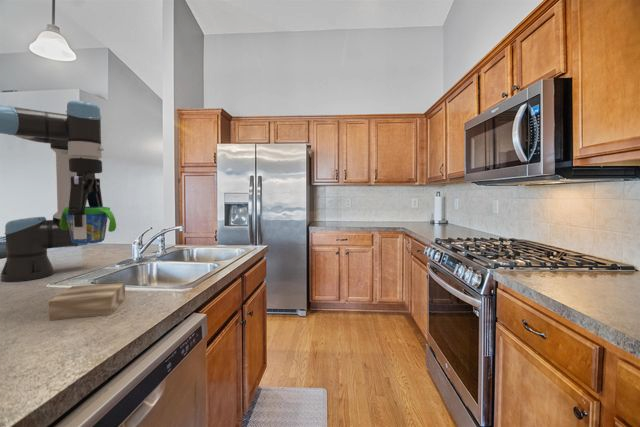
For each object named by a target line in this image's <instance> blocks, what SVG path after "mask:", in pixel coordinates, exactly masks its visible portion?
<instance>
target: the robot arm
mask: <svg viewBox="0 0 640 427" xmlns="http://www.w3.org/2000/svg"><path fill="white" fill-rule="evenodd" d="M65 113H66V114H65ZM65 113H59V112H57V113H56V112H51V111H45V110H44V111H42V110H36V109H29V108H23V107H18V106H17V107H16V106H12V105H0V134H1V135H2V134H3V135H8V136H15V137H17V138H19V139H22V140H27V141H31V142H36V143H43V144H50V145H49V146H50V150H52V151H53V152H54V153H55V165H56V166H55V167H56V169H55V172H56V173H55V174H56V198H57V199H56V200H57V202H56V204H57V206H56V207H57V212H54V214H53V215H52V219H47V218H46V217H45V216H35V217H34V216H33V217H26V218H19V219H14V220H10V221H7V223H6V224H5V226H4V227H5V229H4V235H5V252H6V253H5V254H6V255H5V256H6V260H5V262H4V265H3V268H2V269H1V273H0V281H1V282H9V283H10V282H13V283H14V282H23V281H24V282H25V281H32V280H37V279H43V278H47V277H50V276H53V275H54V271H55V270H54V266H53V264H52V262H51V261H50V259H49V256H48V249H49V250H50V249H59V248H72V247H76V248H77V247H82V246H87V245H88V244H89V243H87V244H85V243H83V244H77V243H72V240H71V236H70V232H69V229H68V230H62V229H61V228H60V219H61V216H62V213H63V210H64V208H65V207H69V209H68V214H69V215H73V232H74V239H87V228H86V215H84V212H85V207H87V202H88V207H104V205H103V199H102V191H101V179H100V178H96V174H102V172H103V161H102V160H101V159H102V156H103V154H102V152H103V151H104V148H103V147H102V133H101V131H102V130H101V128H102V124H101V122H102V121H101V119H102V116H101V109H100V107H99V106H98V105H97V104H94V103H91V102H88V101H81V100H71V101H70V100H69V101H68V102H67V104H66V110H65Z"/></svg>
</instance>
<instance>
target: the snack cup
mask: <svg viewBox="0 0 640 427" xmlns="http://www.w3.org/2000/svg"><path fill="white" fill-rule="evenodd" d="M68 209H69V207H65V208H64V210H63V213H62V216H61V219H60V228H61V229H62V230H68V229H69V232H70V236H71V240H72V243H77V244H83V243H85V244H87V243H88V244H98V243H102V242H103V241H104V240H105V238H106V233H107V232H106V231H107V224H108V220H109V224H108V232H110V233H112V232H114V231H115V230H116V228H117V222H116V218H115V215H114V213H113V211H111V207H108V206H103V207H89V206H86V207H85V212H84V215H86V228H87V239H74V232H73V215H69V214H68ZM88 244H87V245H88Z"/></svg>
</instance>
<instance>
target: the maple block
mask: <svg viewBox="0 0 640 427" xmlns="http://www.w3.org/2000/svg"><path fill="white" fill-rule="evenodd" d="M125 299H126V283H125V282H118V283H117V282H116V283H104V284H103V283H101V284H90V285H76V286H71V287H69V288H68V289H65V291H63V292H61V293H60V294H59V295H56V296H55V297H53V298H52V299H50V300H49V301H48V318H49V321H57V320H67V319H78V318H85V317H98V316H108V315H112V314H113V313H114V312H115V310H116V309H117V308H118V307H119V306H120V305H121V303H123V301H125Z"/></svg>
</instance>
